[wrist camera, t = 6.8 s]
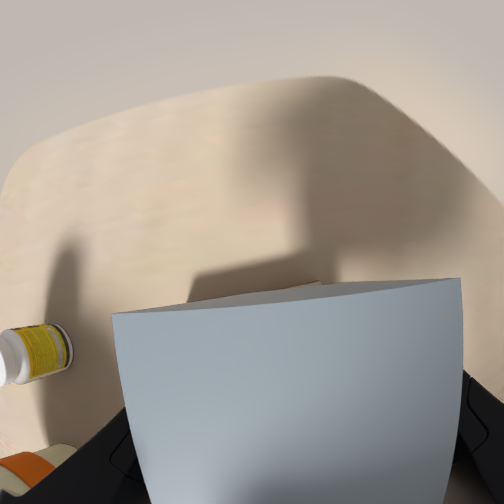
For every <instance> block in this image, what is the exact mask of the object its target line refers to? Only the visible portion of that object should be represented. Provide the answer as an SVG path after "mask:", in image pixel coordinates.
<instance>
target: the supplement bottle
mask: <svg viewBox="0 0 504 504" xmlns="http://www.w3.org/2000/svg"><path fill="white" fill-rule="evenodd" d="M72 358H73V349H72V344H71V341H70V339H69V337H68V335H67V333H66V332H65V331H64V329H63V328H62V327H60V326H59V325H57V324H54V323H47V324H41V325H34V326H27V327H20V328H14V329H7V330H4V331H3V332H2V333H1V334H0V386H4V385H7V384H11V383H15V384H19V385H21V384H26V383H29V382H32V381H35V380H38V379H41V378H44V377H47V376H50V375H53V374H56V373H58V372H61V371H64V370H66V369H67V368H68V367H69V366H70V364H71V362H72Z"/></svg>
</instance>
